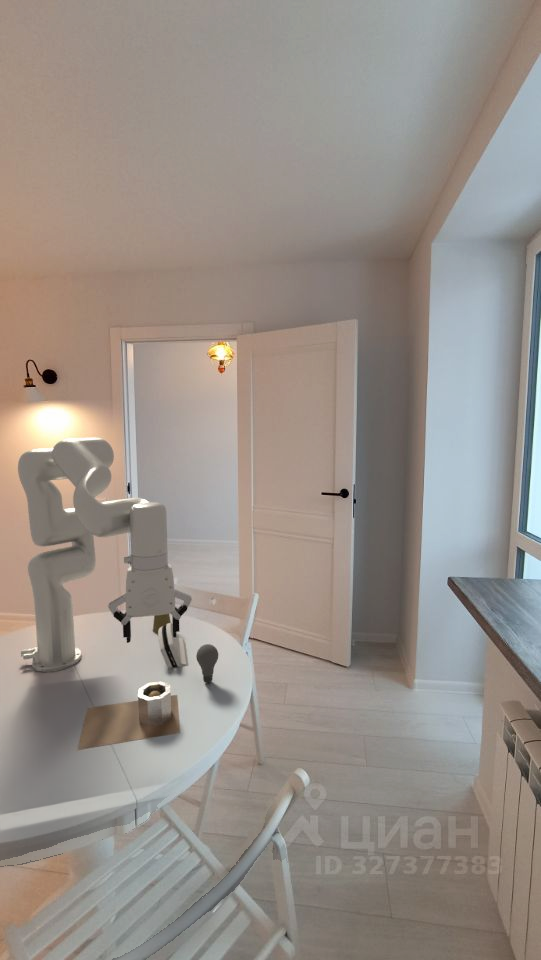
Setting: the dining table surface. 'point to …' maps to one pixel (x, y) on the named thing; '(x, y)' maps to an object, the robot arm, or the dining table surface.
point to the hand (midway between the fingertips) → (152, 637)
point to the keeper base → (123, 724)
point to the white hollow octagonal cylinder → (154, 704)
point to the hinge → (172, 647)
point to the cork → (160, 621)
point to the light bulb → (207, 661)
